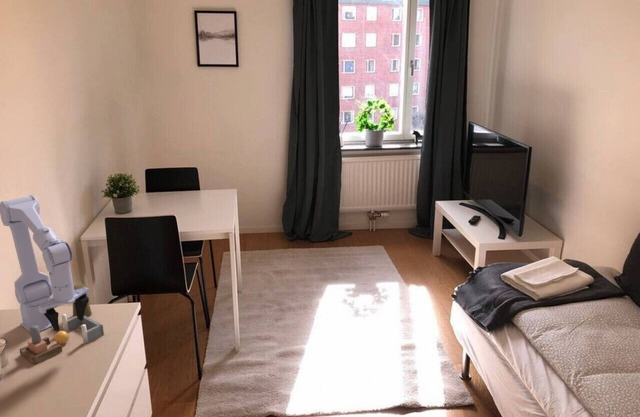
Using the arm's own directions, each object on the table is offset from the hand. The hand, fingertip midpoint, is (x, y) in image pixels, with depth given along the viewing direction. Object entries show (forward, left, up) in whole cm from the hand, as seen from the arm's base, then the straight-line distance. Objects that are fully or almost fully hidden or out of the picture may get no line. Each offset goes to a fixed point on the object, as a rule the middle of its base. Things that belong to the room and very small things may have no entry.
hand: (68, 324), depth 162 cm
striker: (-8, -6, -10) cm, 14 cm away
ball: (-8, +1, -8) cm, 11 cm away
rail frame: (-8, -5, -10) cm, 14 cm away
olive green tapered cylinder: (-19, +15, -10) cm, 26 cm away
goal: (-8, +9, -10) cm, 15 cm away
